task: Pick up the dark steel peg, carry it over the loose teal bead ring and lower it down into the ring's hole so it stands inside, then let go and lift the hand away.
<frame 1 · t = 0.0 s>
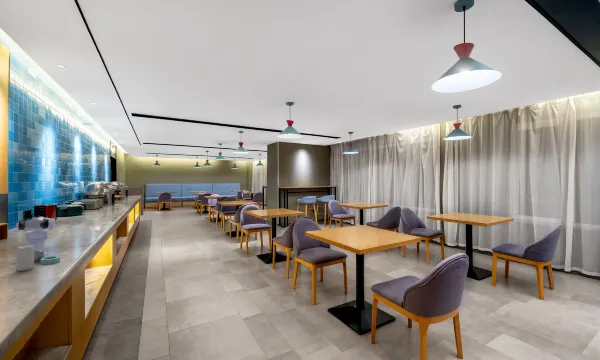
hand: (31, 225, 147), 22 cm above the counter, tool horizontal, fingers open, 7 cm apart
steel peg: (38, 261, 152), on the counter
beverage can: (24, 269, 138), on the counter
teal bead ring: (50, 262, 151), on the counter
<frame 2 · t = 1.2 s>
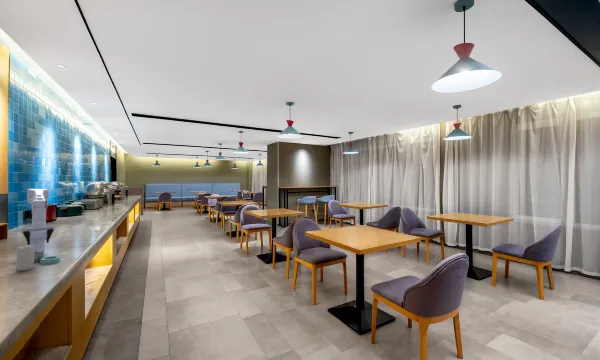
hand: (38, 243, 150), 10 cm above the counter, tool pointing down, fingers open, 7 cm apart
nothing on the counter moved.
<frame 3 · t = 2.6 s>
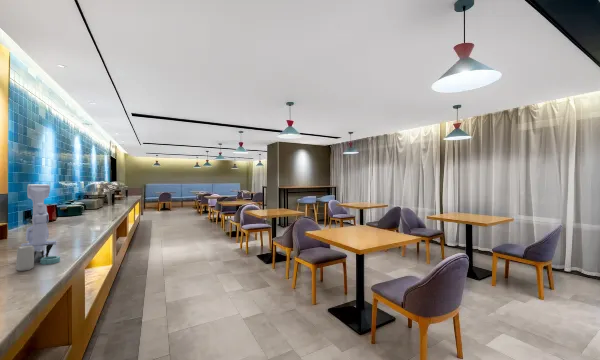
hand: (38, 258, 152), 2 cm above the counter, tool pointing down, fingers open, 6 cm apart
nothing on the counter moved.
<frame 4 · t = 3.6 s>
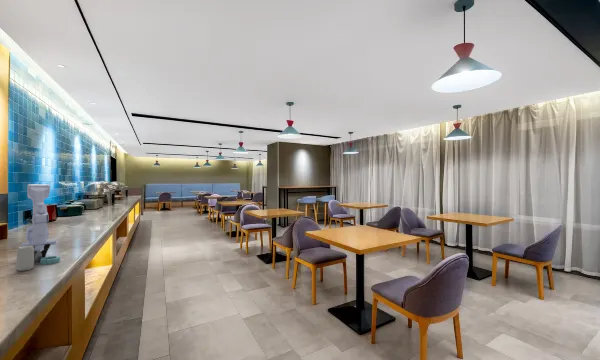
hand: (38, 258, 152), 2 cm above the counter, tool pointing down, fingers closed on steel peg, 4 cm apart
steel peg: (38, 261, 152), on the counter, touching gripper
everything else where it was.
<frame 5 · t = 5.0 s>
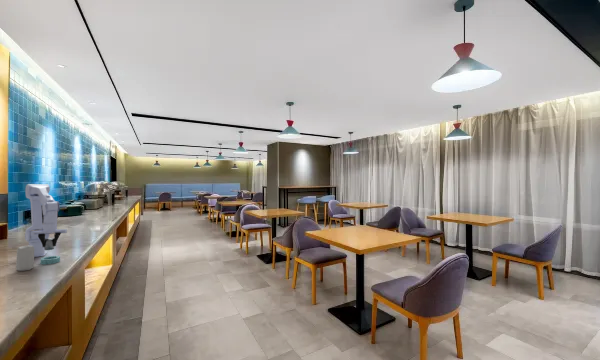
hand: (49, 246, 151), 9 cm above the counter, tool pointing down, fingers closed on steel peg, 4 cm apart
steel peg: (49, 249, 151), point 7 cm above the counter, touching gripper
everything else where it was.
when the fingers open (3 cm above the counter, at t = 6.9 s): steel peg drops 2 cm, resting in teal bead ring.
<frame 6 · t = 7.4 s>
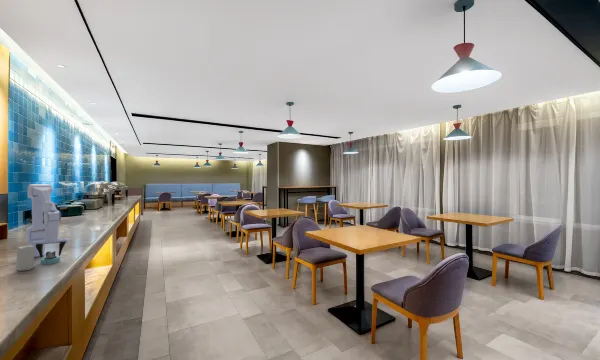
hand: (50, 256, 151), 3 cm above the counter, tool pointing down, fingers open, 7 cm apart
steel peg: (50, 262, 151), resting in teal bead ring
everything else where it was.
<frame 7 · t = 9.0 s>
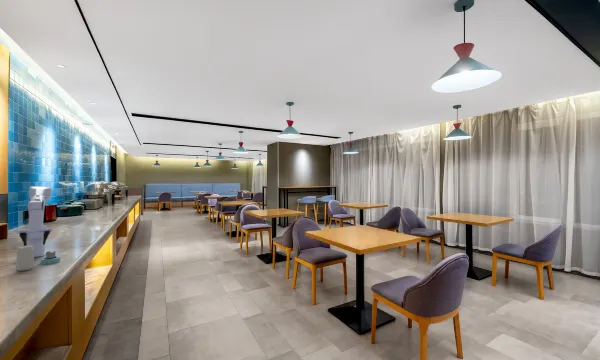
hand: (34, 245, 151), 9 cm above the counter, tool pointing down, fingers open, 7 cm apart
nothing on the counter moved.
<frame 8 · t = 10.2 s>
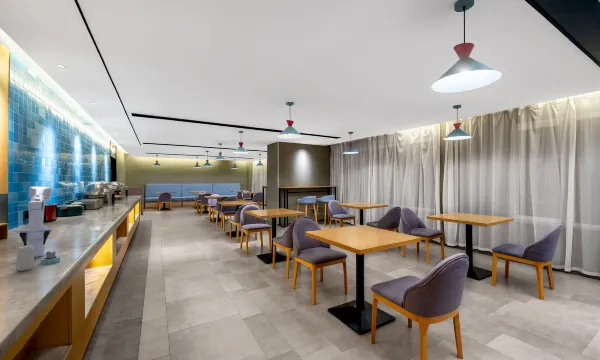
hand: (34, 245, 151), 9 cm above the counter, tool pointing down, fingers open, 7 cm apart
nothing on the counter moved.
at the end: steel peg 0.0 cm off-centre on the teal bead ring, point 0.0 cm above the teal bead ring's base; steel peg tilted 0°; the gripper is holding nothing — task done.
